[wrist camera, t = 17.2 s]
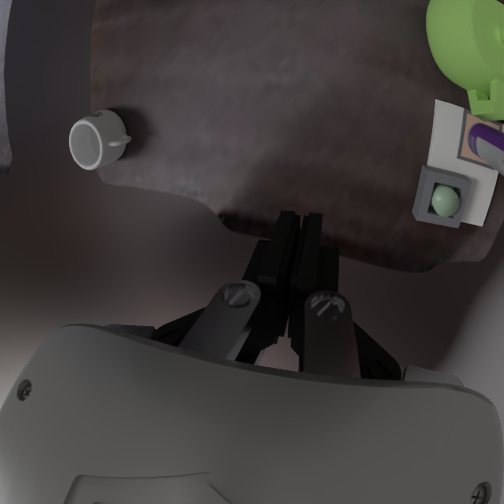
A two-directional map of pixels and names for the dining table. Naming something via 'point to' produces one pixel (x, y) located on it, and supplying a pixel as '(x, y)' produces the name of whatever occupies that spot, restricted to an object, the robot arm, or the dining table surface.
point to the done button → (444, 200)
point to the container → (487, 145)
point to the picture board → (455, 169)
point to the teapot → (471, 50)
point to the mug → (98, 139)
